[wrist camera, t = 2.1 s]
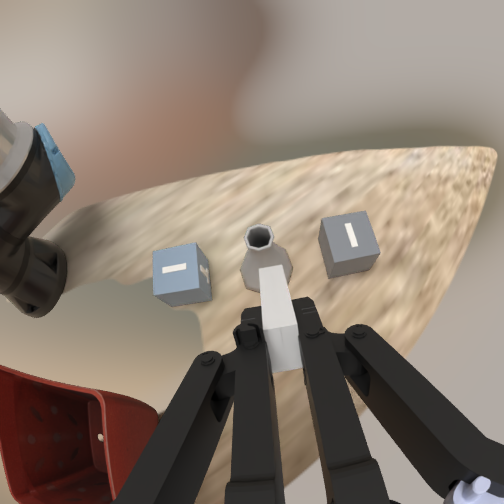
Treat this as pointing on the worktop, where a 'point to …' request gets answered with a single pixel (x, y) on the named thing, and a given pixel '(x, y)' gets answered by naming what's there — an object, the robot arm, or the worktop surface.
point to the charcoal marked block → (347, 244)
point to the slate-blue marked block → (181, 275)
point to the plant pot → (68, 439)
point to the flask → (262, 255)
